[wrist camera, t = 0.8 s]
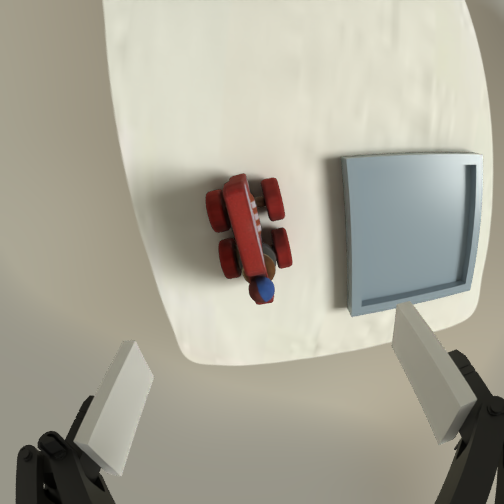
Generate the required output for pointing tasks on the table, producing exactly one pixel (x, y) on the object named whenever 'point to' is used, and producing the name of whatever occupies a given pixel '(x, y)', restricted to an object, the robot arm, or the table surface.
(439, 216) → the tray
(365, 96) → the table surface
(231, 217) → the toy fire truck
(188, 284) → the table surface
